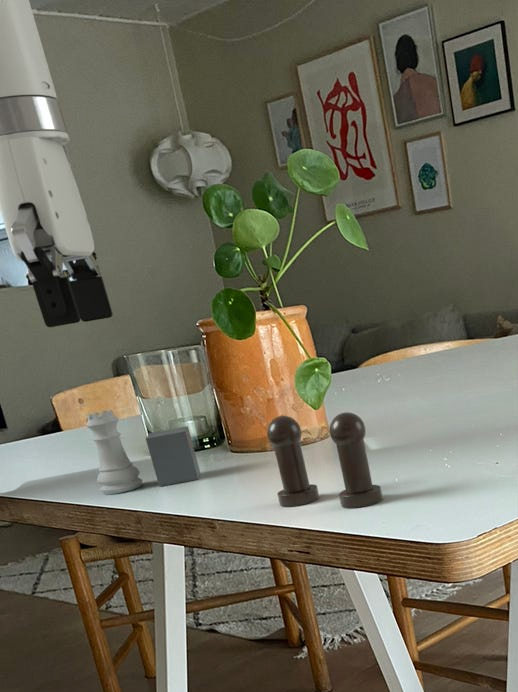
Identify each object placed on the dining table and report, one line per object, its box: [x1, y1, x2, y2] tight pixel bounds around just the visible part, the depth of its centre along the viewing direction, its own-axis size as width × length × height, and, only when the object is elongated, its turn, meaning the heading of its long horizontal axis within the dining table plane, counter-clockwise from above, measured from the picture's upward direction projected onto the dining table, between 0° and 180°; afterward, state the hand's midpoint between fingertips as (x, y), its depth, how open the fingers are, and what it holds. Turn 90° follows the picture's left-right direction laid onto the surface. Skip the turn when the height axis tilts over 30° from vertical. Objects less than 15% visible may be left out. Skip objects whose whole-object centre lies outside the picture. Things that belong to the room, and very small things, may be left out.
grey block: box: [145, 425, 201, 487], centre depth 97 cm, size 4×4×5 cm
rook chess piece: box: [85, 409, 143, 495], centre depth 96 cm, size 4×4×8 cm
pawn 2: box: [329, 411, 384, 509], centre depth 74 cm, size 3×3×7 cm
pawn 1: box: [266, 415, 320, 508], centre depth 78 cm, size 3×3×7 cm
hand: (81, 322), depth 92 cm, fingers open, 9 cm apart
